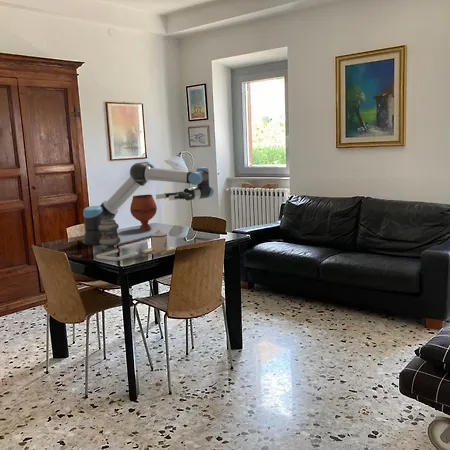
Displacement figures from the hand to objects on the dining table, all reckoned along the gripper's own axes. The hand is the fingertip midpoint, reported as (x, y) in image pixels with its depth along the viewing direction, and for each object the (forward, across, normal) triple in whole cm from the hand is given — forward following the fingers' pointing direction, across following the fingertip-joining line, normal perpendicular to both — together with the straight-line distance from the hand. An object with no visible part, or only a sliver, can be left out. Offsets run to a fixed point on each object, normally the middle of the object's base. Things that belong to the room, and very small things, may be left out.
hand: (162, 197), depth 285 cm
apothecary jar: (+25, +21, -30) cm, 45 cm away
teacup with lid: (+8, -6, -29) cm, 31 cm away
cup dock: (+32, +6, -30) cm, 44 cm away
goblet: (-28, +69, -30) cm, 80 cm away
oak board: (+8, -6, -30) cm, 32 cm away
